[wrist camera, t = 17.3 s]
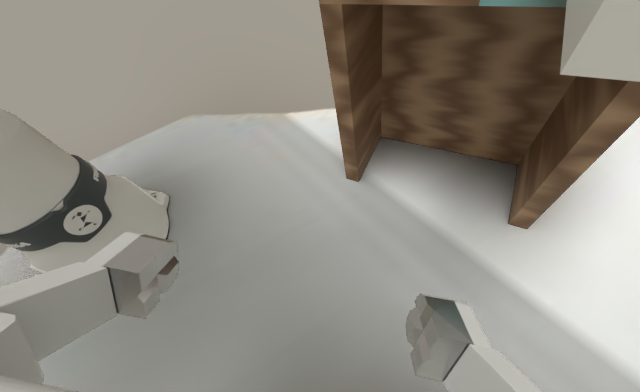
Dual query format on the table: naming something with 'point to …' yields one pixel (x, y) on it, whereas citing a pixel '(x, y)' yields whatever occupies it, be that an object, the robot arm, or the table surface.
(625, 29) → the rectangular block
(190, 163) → the table surface
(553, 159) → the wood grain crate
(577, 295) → the table surface
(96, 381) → the table surface
